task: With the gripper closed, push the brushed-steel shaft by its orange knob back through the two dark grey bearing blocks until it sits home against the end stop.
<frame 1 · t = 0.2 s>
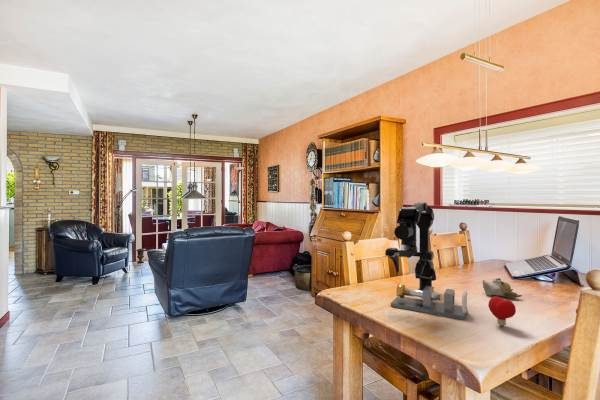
hand: (408, 274, 137), 14 cm above the table, fingers open, 9 cm apart
ceramic sculpture: (499, 296, 153), on the table
bearing frame: (428, 308, 136), on the table
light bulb: (501, 326, 118), on the table
shaft: (418, 293, 138), point 5 cm above the table, slide at 8.0 cm
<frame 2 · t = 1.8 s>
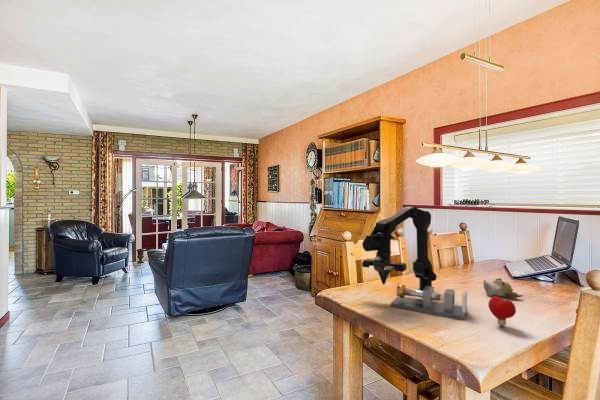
hand: (383, 284, 146), 7 cm above the table, fingers closed
nothing on the table moved.
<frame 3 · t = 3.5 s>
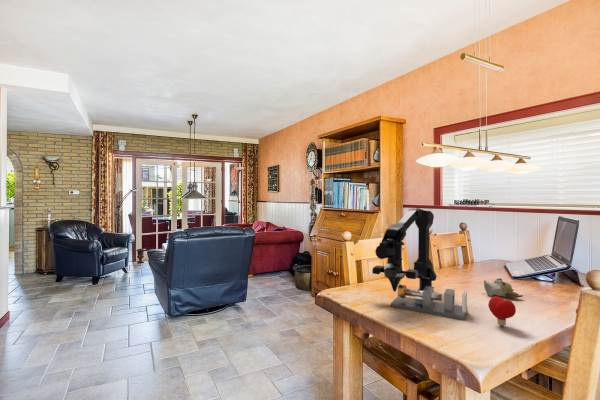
hand: (394, 291, 143), 5 cm above the table, fingers closed
shaft: (419, 294, 137), point 6 cm above the table, slide at 7.5 cm, touching gripper
everything else where it was.
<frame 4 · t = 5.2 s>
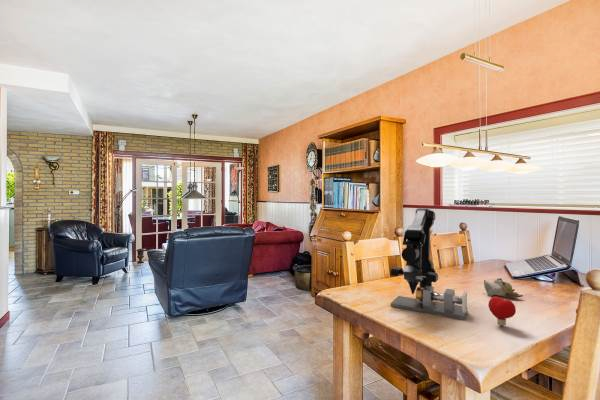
hand: (413, 294, 139), 5 cm above the table, fingers closed
shaft: (439, 297, 133), point 6 cm above the table, slide at -0.1 cm, touching gripper
everything else where it was.
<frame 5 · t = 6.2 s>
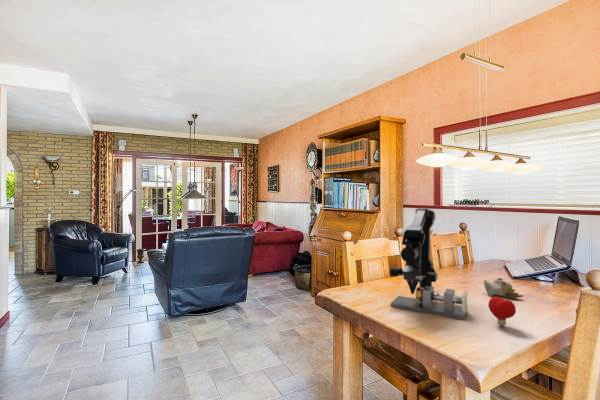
hand: (412, 294, 139), 5 cm above the table, fingers closed
nothing on the table moved.
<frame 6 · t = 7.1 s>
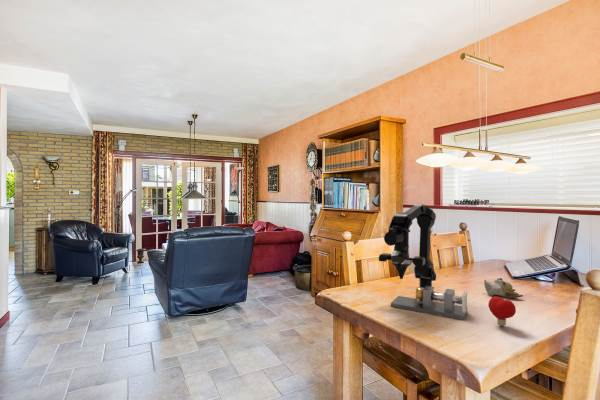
hand: (401, 278, 142), 11 cm above the table, fingers closed
shaft: (438, 297, 133), point 5 cm above the table, slide at 0.0 cm
everything else where it was.
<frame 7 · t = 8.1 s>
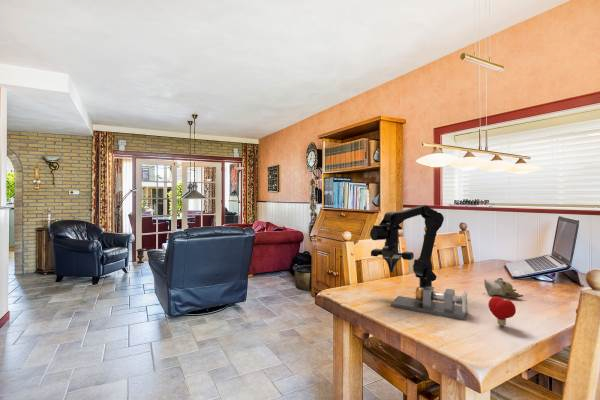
hand: (391, 272, 153), 11 cm above the table, fingers closed
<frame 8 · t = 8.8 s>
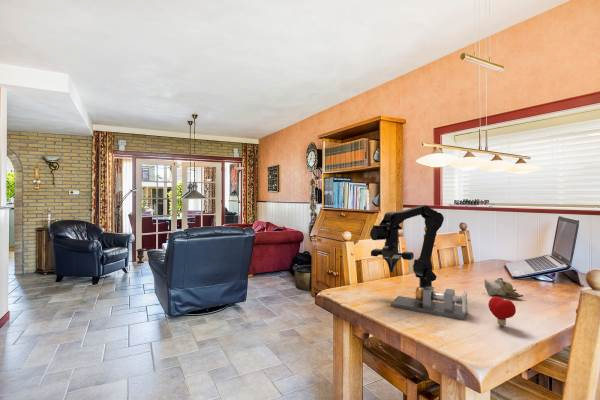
hand: (391, 272, 153), 11 cm above the table, fingers closed
at the end: shaft slide at 0.0 cm; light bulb moved 0.2 cm from its start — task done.
